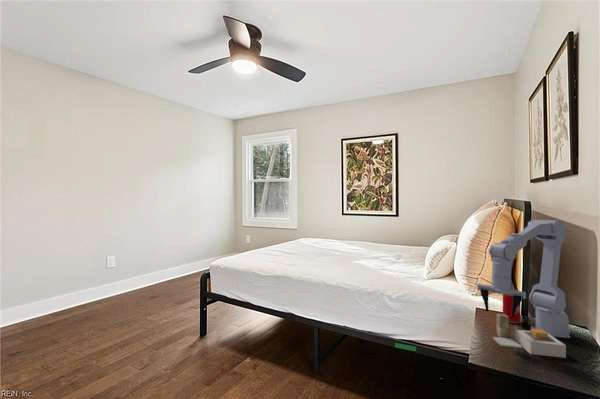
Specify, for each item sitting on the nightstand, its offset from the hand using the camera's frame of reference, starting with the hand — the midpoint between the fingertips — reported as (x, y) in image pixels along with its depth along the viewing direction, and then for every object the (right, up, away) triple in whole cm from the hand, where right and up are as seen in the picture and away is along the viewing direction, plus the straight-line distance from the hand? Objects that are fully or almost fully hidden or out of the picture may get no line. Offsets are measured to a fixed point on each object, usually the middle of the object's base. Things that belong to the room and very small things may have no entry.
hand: (499, 313), depth 106 cm
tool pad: (+2, -10, -1) cm, 10 cm away
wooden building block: (+4, -10, +4) cm, 12 cm away
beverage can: (+19, -11, +19) cm, 29 cm away
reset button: (+10, -7, -5) cm, 13 cm away
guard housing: (+10, -10, -5) cm, 15 cm away
